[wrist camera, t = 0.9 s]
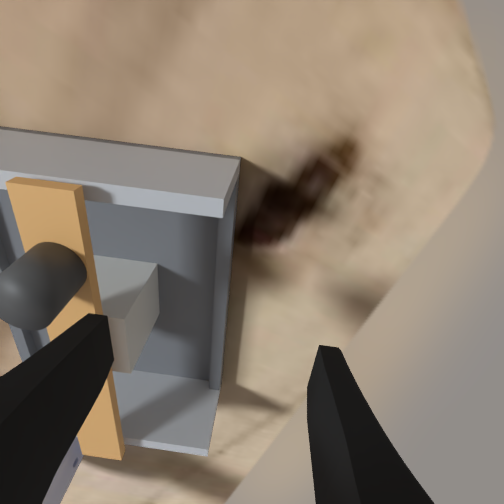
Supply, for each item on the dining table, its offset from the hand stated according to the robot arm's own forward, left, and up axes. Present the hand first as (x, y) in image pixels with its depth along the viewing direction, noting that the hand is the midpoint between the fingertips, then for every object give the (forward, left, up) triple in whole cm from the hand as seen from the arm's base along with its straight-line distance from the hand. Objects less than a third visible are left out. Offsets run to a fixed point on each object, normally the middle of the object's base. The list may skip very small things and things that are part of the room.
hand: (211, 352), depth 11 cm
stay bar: (-6, +7, -4) cm, 10 cm away
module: (-6, +7, -9) cm, 13 cm away
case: (-6, +8, -10) cm, 14 cm away
